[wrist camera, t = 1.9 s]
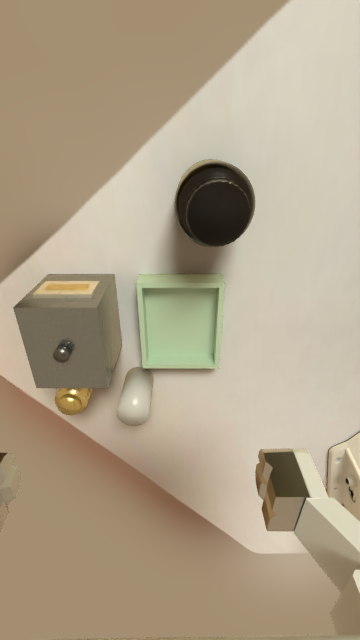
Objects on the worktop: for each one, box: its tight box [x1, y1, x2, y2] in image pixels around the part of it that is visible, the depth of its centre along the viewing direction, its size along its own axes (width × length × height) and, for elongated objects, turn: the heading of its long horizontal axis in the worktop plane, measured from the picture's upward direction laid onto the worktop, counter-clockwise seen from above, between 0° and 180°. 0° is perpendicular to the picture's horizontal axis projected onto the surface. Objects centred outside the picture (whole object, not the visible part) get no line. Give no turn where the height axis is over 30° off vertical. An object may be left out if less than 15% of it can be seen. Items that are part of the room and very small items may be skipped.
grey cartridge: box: [117, 367, 154, 426], centre depth 43 cm, size 4×4×7 cm
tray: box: [136, 274, 225, 369], centre depth 40 cm, size 12×10×3 cm
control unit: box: [13, 274, 122, 388], centre depth 36 cm, size 10×8×10 cm
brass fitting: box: [55, 388, 93, 415], centre depth 43 cm, size 4×4×7 cm
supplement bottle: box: [174, 159, 255, 247], centre depth 28 cm, size 7×7×12 cm
